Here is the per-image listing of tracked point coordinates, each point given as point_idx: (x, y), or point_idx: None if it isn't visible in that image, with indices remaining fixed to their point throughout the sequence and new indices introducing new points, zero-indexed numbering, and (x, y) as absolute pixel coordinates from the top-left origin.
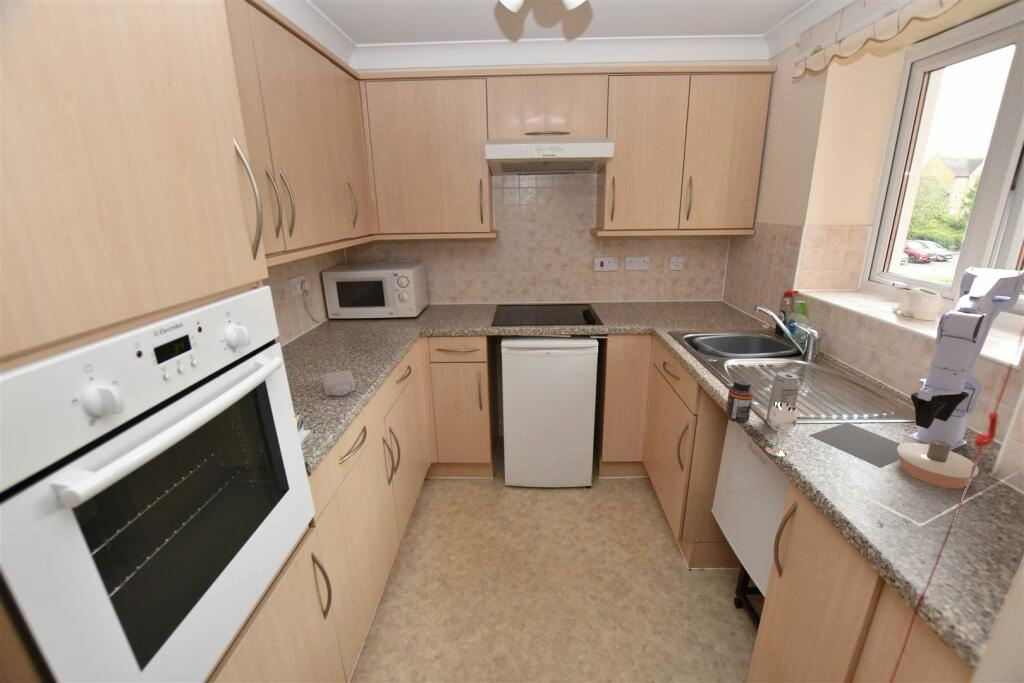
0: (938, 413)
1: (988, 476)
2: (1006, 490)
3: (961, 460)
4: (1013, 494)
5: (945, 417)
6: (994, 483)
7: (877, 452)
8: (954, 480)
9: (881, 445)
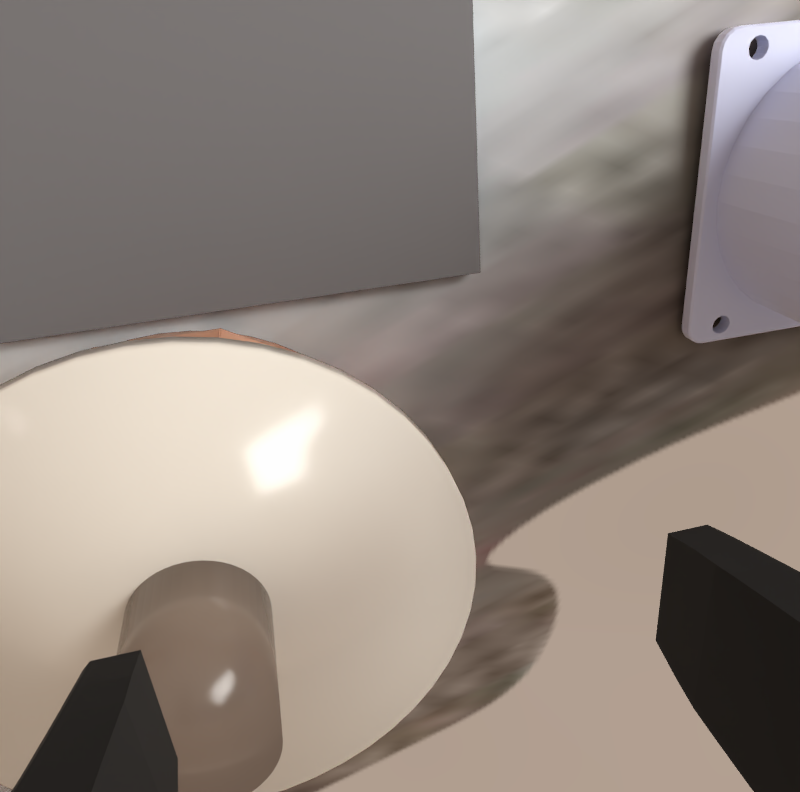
0: (728, 628)
1: (549, 590)
2: (462, 694)
3: (371, 669)
4: (449, 721)
5: (694, 684)
6: (487, 643)
7: (26, 155)
8: None
9: (236, 58)
